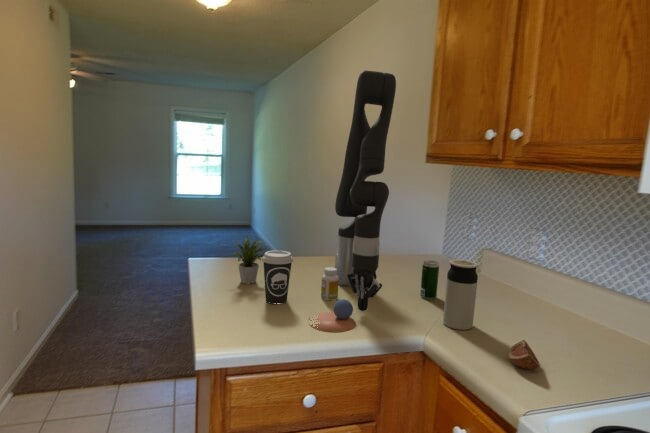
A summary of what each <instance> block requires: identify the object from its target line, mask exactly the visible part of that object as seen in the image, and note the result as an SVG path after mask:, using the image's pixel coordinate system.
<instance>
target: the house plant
mask: <svg viewBox="0 0 650 433" xmlns="http://www.w3.org/2000/svg"><path fill="white" fill-rule="evenodd" d="M258 239H259V237H257V238H256V239H254V241H253V243H251V245H250V240H249V236H248V235H247V236H246V238H245V240H244V242H243V241H238V242H237V241H235V243H236V245H235V247H236V248H237V249H239V248H240V249H239V252H240V253H241V254H240V253H238V252H237V251H233V252H232V253H231V254H233V255H236V256H238V257H237V262H240V261H242V262H240V263H239V264H238V271H239V276H240V277H239V278H240V283H241V282H243V283H253V284H255V283H257V277H258V272H259V267H260V264H259V263H257V262H256V261H257V260H259V261H260V262H262V258H263V256H264V254H265V252H263V253H262V252H261V251H264V250H269V249H271V247H268V248H267V247H265V246H266V243H264V244H261V243H262V242H263V241H264V239H262V240H260V241H258ZM257 241H258V242H257ZM239 242H241V243H242V244H243V246H244V247H243V246H242V245H241V244H240V243H239ZM269 244H271V243H270V242H269V243H267V245H269ZM259 252H260V253H259ZM261 257H262V258H261ZM254 282H255V283H254ZM243 283H242V284H243Z"/></svg>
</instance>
